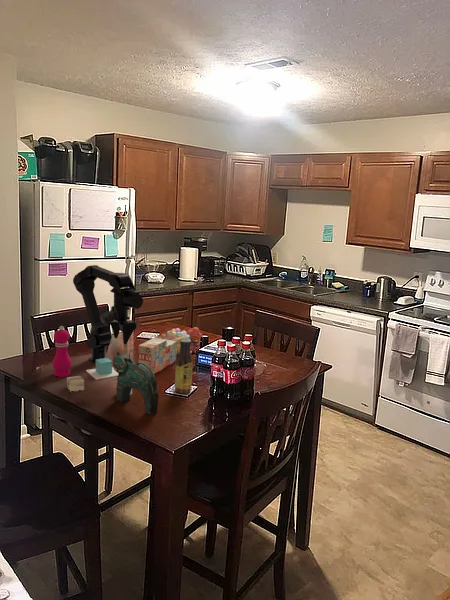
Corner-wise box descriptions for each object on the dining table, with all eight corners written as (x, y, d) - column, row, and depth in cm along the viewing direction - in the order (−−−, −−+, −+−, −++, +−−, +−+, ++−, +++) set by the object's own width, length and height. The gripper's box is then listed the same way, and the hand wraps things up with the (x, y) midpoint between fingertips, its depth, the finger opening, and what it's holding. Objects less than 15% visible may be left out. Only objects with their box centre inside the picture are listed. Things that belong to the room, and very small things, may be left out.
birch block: (67, 387, 189) (66, 377, 188) (80, 385, 191) (80, 375, 191) (70, 392, 185) (70, 382, 184) (84, 390, 187) (84, 380, 186)
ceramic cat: (111, 399, 180) (111, 346, 176) (125, 394, 185) (126, 342, 181) (148, 417, 168) (150, 360, 164) (162, 411, 173) (164, 356, 169)
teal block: (95, 371, 205) (95, 359, 204) (107, 369, 208) (107, 357, 207) (100, 375, 201) (100, 363, 200) (112, 373, 204) (112, 361, 203)
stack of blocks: (164, 358, 226) (165, 332, 224) (176, 361, 224) (177, 334, 221) (137, 373, 207) (138, 344, 205) (151, 376, 205) (151, 347, 202)
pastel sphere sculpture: (200, 357, 232) (201, 338, 230) (150, 354, 232) (150, 334, 230) (205, 341, 256) (206, 324, 254) (159, 338, 257) (159, 321, 255)
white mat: (85, 371, 206) (85, 370, 206) (111, 366, 212) (111, 365, 212) (95, 379, 197) (95, 378, 197) (122, 375, 204) (122, 374, 204)
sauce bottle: (184, 395, 187) (186, 344, 183) (171, 391, 190) (172, 341, 186) (194, 390, 192) (196, 340, 188) (181, 386, 196) (183, 337, 191)
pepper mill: (54, 378, 196) (53, 329, 192) (51, 372, 203) (50, 324, 198) (73, 376, 200) (72, 327, 195) (69, 370, 206) (69, 323, 202)
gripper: (93, 301, 208) (93, 337, 211) (111, 311, 193) (111, 350, 197) (118, 299, 214) (118, 334, 218) (137, 308, 200) (137, 346, 203)
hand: (120, 341), depth 209 cm, fingers open, 9 cm apart
